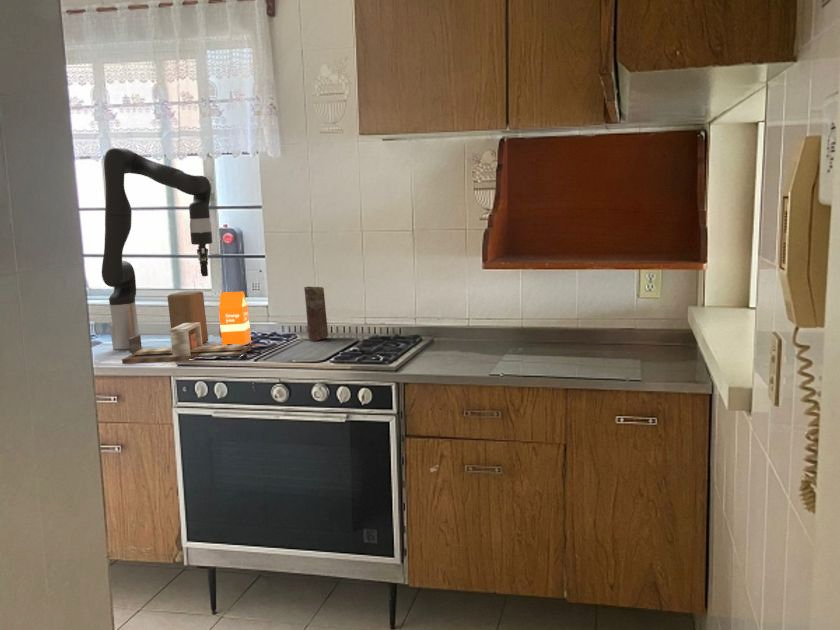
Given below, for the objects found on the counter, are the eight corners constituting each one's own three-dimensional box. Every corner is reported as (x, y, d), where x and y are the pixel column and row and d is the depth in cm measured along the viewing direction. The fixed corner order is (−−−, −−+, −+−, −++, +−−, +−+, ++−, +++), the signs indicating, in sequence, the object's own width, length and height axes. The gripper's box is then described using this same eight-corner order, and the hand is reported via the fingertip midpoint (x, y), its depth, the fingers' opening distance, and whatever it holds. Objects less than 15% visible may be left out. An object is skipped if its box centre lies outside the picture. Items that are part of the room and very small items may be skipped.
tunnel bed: (122, 363, 276) (118, 332, 274) (139, 355, 289) (136, 325, 288) (240, 358, 272) (237, 326, 270) (252, 349, 286) (249, 319, 284)
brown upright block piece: (309, 338, 302) (305, 285, 299) (329, 336, 302) (324, 284, 299) (307, 342, 294) (303, 288, 291) (327, 340, 294) (323, 286, 291)
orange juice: (246, 346, 293) (240, 292, 290) (222, 348, 293) (216, 294, 290) (251, 342, 300) (246, 290, 297) (228, 343, 301) (223, 291, 298)
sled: (130, 355, 279) (128, 338, 278) (138, 351, 286) (136, 335, 285) (239, 350, 275) (237, 333, 274) (245, 346, 282) (243, 329, 281)
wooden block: (172, 347, 301) (166, 294, 298) (186, 342, 311) (181, 291, 308) (195, 347, 298) (189, 294, 295) (209, 342, 308) (204, 290, 305)
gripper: (189, 230, 297) (193, 273, 300) (190, 232, 284) (194, 277, 286) (210, 229, 299) (214, 272, 302) (212, 231, 286) (215, 276, 288)
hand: (204, 275), depth 294 cm, fingers open, 8 cm apart
